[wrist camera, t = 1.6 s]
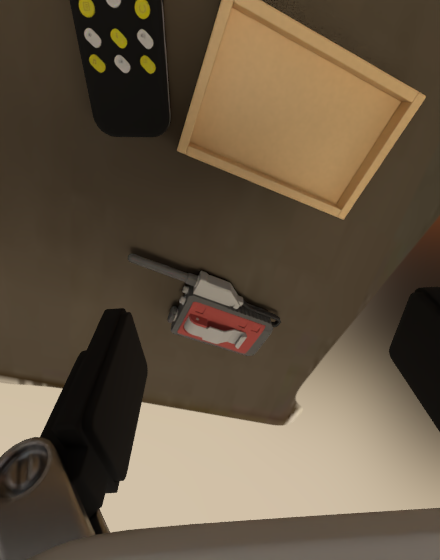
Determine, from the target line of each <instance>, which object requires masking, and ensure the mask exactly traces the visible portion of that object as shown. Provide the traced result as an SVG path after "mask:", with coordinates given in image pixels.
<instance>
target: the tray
mask: <svg viewBox="0 0 440 560" xmlns="http://www.w3.org/2000/svg"><path fill="white" fill-rule="evenodd" d="M425 98H426V96H425V95H423V94H422V93H420V92H418V91H417V90H415V89H413V88H411V87H410V86H408V85H406V84H405V83H403V82H401V81H399V80H398V79H396V78H394V77H392V76H391V75H389V74H387V73H386V72H384V71H382V70H380V69H379V68H377V67H375V66H373V65H372V64H370V63H368V62H367V61H365V60H363V59H361V58H360V57H358V56H356V55H354V54H353V53H351V52H349V51H348V50H346V49H344V48H342V47H341V46H339V45H337V44H335V43H334V42H332V41H330V40H329V39H327V38H325V37H323V36H322V35H320V34H318V33H316V32H315V31H313V30H311V29H310V28H308V27H306V26H304V25H303V24H301V23H299V22H297V21H296V20H294V19H292V18H291V17H289V16H287V15H285V14H284V13H282V12H280V11H278V10H277V9H275V8H273V7H272V6H270V5H268V4H266V3H265V2H263V1H261V0H221V3H220V6H219V10H218V13H217V16H216V20H215V23H214V26H213V30H212V33H211V37H210V40H209V43H208V47H207V50H206V53H205V57H204V60H203V64H202V67H201V70H200V74H199V77H198V80H197V84H196V87H195V91H194V94H193V97H192V101H191V104H190V107H189V111H188V114H187V118H186V121H185V124H184V128H183V131H182V134H181V138H180V141H179V145H178V148H177V151H178V152H180V153H183V154H186V155H187V156H190V157H192V158H195V159H197V160H200V161H202V162H204V163H207V164H209V165H212V166H214V167H217V168H219V169H221V170H224V171H226V172H229V173H231V174H234V175H236V176H238V177H241V178H243V179H246V180H248V181H251V182H253V183H255V184H258V185H260V186H263V187H265V188H268V189H270V190H272V191H275V192H277V193H280V194H282V195H285V196H287V197H289V198H292V199H294V200H297V201H299V202H302V203H304V204H306V205H309V206H311V207H314V208H316V209H319V210H321V211H323V212H326V213H328V214H331V215H333V216H336V217H338V218H340V219H344V218H345V217H346V215H347V214H348V212H349V211H350V209H351V208H352V206H353V205H354V203H355V202H356V200H357V199H358V197H359V196H360V194H361V193H362V191H363V190H364V188H365V187H366V186H367V184H368V183H369V181H370V180H371V178H372V177H373V175H374V174H375V172H376V171H377V169H378V168H379V166H380V165H381V163H382V162H383V160H384V159H385V157H386V156H387V154H388V153H389V151H390V150H391V148H392V147H393V145H394V144H395V142H396V141H397V139H398V138H399V136H400V135H401V134H402V132H403V131H404V129H405V128H406V126H407V125H408V123H409V122H410V120H411V119H412V117H413V116H414V114H415V113H416V111H417V110H418V108H419V107H420V105H421V104H422V102H423V101H424V99H425Z"/></svg>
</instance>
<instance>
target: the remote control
mask: <svg viewBox="0 0 440 560" xmlns="http://www.w3.org/2000/svg"><path fill="white" fill-rule="evenodd" d="M70 4H71V9H72V14H73V19H74V24H75V29H76V34H77V39H78V44H79V49H80V54H81V59H82V64H83V69H84V73H85V78H86V83H87V88H88V93H89V98H90V103H91V108H92V113H93V117H94V120H95V122H96V124H97V126H98V127H99V128H100V129H101V131H103V132H104V133H106V134H108V135H110V136H115V137H157V136H160V135H162V134H163V133H164V132H165V131H166V130H167V128H168V127H169V124H170V117H171V115H170V101H169V86H168V72H167V58H166V43H165V29H164V15H163V0H70Z"/></svg>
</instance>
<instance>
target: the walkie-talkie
mask: <svg viewBox="0 0 440 560" xmlns="http://www.w3.org/2000/svg"><path fill="white" fill-rule="evenodd" d="M128 260H129V261H130V262H132V263H134V264H137V265H140V266H143V267H145V268H148V269H151V270H154V271H156V272H159V273H162V274H164V275H167V276H170V277H173V278H175V279H178V280H181V281H184V282H185V283H186V284H189V286H188V287H187V286H184V287H183V290H182V292H183V293H185V295H184V297H183V296H181V298H180V300H179V301H180V302H179V303H180V304H179V306H178V308H177V307H176V306H173V307H172V308H171V310H170V313H169V316H168V322H169V323H172V326H171V332H172V333H173V334H177V335H180V336H183V337H186V338H189V339H193V340H196V341H199V342H202V343H207V344H210V345H212V346H216V347H219V348H223V349H226V350H229V351H232V352H235V353H238V354H242V355H245V356H250V355H254V354H255V353H256V352H257V351H258V349H259V348H260V347H261V346H262V344H263V343H264V342H265V340H266V339H267V338H268V337H269V335H270V334H271V333H272V330H273V327H277V326H278V325H279V324H280V323H281V321H280V318H279V317H278V316H277V315H275V314H273V313H270V312H268V310H265V309H262V308H259V307H257V306H253V305H251V304H249V303H246V302H245V301H244V300H243V297H241V296H238V294H237V293H236V291H235V289H234V288H233V286H232V285H231V283H229V282H227V281H224V280H222V279H219V278H216V277H214V276H211V275H209V274H207V272H204V271H200V273H199V275H198V276H197V275H194V274H192V273H185V272H183V271H180V270H177V269H175V268H172V267H170V266H167V265H164V264H162V263H159V262H155V261H152V260H149V259H146V258H144V257H141V256H138V255H136V254H129V256H128ZM270 318H273V319H275V320H277V321H275V322H271V320H270Z"/></svg>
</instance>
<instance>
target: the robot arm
mask: <svg viewBox="0 0 440 560" xmlns="http://www.w3.org/2000/svg"><path fill="white" fill-rule="evenodd" d="M389 353H390V357H391V359H392V360H393V362H394V363H395V365H396V366H397V368H398V369H399V371H400V372H401V374H402V375H403V377H404V378H405V380H406V382H407V383H408V385H409V386H410V388H411V389H412V391H413V392H414V394H415V395H416V397H417V398H418V400H419V401H420V403H421V404H422V406H423V407H424V409H425V410H426V412H427V413H428V415H429V416H430V418H431V419H432V421H433V422H434V424H435V425H436V427H437V428H438V430H439V431H440V287H426V288H418V289H416V290H415V292H414V293H412V294H411V295H410V297H409V300H408V302H407V305H406V307H405V310H404V312H403V315H402V317H401V320H400V323H399V325H398V328H397V330H396V333H395V335H394V338H393V340H392V343H391V346H390V349H389ZM146 378H147V363H146V360H145V357H144V353H143V350H142V347H141V343H140V340H139V337H138V334H137V330H136V327H135V324H134V321H133V317H132V315H131V313H130V312H126V311H125V309H123V308H120V309H107V310H105V311H104V313H103V315H102V318H101V320H100V322H99V324H98V326H97V329H96V331H95V333H94V335H93V338H92V340H91V342H90V344H89V346H88V349H87V351H82V352H81V353H80V354H79V356H78V358H77V360H76V362H75V364H74V366H73V368H72V370H71V373H70V375H69V377H68V379H67V381H66V383H65V385H64V387H63V390H62V392H61V394H60V396H59V398H58V400H57V402H56V404H55V406H54V409H53V411H52V413H51V415H50V417H49V419H48V421H47V424H46V426H45V428H44V430H43V432H42V434H41V436H40V437H39V438H38V437H34V438H30V439H27V440H24V441H22V442H20V443H18V444H16V445H14V446H13V447H12V448H10V449H9V450H8V451H6V452H5V453H4V454H3V455H2V456H1V457H0V560H440V508H433V509H432V508H431V509H415V510H399V511H384V512H369V513H352V514H337V515H322V516H306V517H291V518H278V519H262V520H247V521H233V522H220V523H204V524H190V525H179V526H170V527H169V526H168V527H157V528H146V529H135V530H126V531H119V532H112V533H110V531H109V529H108V527H107V525H106V523H105V520H104V518H103V516H102V514H101V512H100V509H99V508H100V507H101V506H102V504H103V500H104V496H105V493H116V492H117V490H118V486H119V481H123V480H124V479H125V477H126V474H127V470H128V465H129V460H130V455H131V451H132V446H133V441H134V436H135V431H136V427H137V422H138V417H139V412H140V407H141V402H142V397H143V393H144V388H145V383H146Z"/></svg>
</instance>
